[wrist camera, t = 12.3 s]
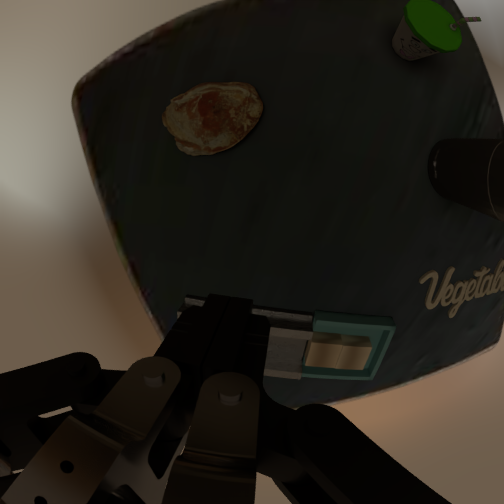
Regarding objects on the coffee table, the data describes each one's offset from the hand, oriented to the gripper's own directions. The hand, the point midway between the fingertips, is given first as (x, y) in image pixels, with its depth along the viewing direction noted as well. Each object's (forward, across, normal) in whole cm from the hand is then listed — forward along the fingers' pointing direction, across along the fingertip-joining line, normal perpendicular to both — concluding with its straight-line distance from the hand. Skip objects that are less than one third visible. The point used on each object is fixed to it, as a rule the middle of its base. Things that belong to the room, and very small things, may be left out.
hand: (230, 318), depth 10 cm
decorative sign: (+29, -38, +10) cm, 49 cm away
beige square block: (+28, -10, +23) cm, 37 cm away
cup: (+29, -17, -25) cm, 42 cm away
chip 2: (+28, -15, +23) cm, 39 cm away
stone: (+29, +10, -10) cm, 32 cm away
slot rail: (+28, +3, +22) cm, 36 cm away
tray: (+29, -14, +22) cm, 39 cm away
